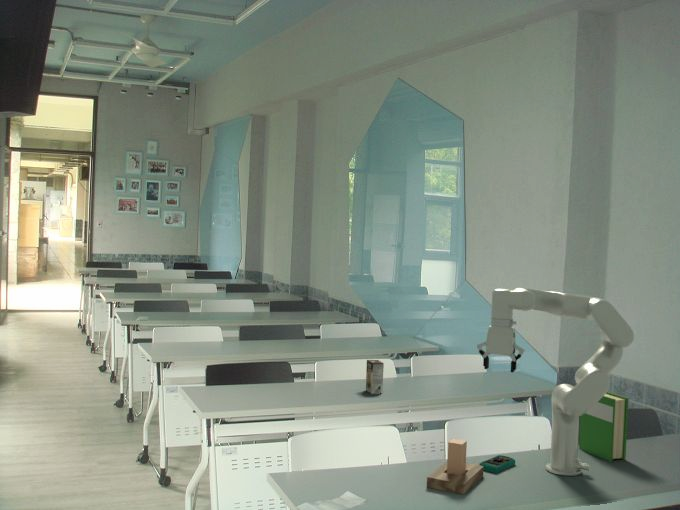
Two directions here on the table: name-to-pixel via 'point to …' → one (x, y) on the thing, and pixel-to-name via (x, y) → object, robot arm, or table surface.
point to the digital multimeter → (497, 463)
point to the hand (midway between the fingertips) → (499, 370)
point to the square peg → (456, 457)
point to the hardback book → (605, 428)
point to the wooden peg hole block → (455, 479)
